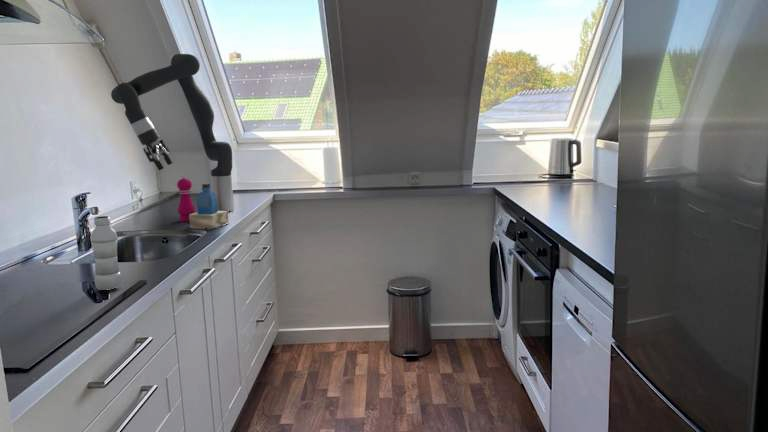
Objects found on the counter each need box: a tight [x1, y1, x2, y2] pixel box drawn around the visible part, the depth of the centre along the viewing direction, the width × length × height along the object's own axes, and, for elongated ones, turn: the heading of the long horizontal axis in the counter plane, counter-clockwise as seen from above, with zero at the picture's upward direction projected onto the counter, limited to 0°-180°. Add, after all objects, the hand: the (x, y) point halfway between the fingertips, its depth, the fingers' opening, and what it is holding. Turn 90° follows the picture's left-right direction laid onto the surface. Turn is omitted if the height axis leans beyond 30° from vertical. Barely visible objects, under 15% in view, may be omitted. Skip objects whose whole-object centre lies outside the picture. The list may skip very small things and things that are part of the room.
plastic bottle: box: [89, 215, 123, 291], centre depth 149 cm, size 6×7×20 cm
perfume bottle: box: [196, 183, 218, 214], centre depth 232 cm, size 6×6×12 cm
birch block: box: [189, 211, 229, 230], centre depth 234 cm, size 11×11×6 cm
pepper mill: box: [176, 174, 196, 223], centre depth 245 cm, size 7×7×20 cm
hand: (166, 166), depth 231 cm, fingers open, 8 cm apart
